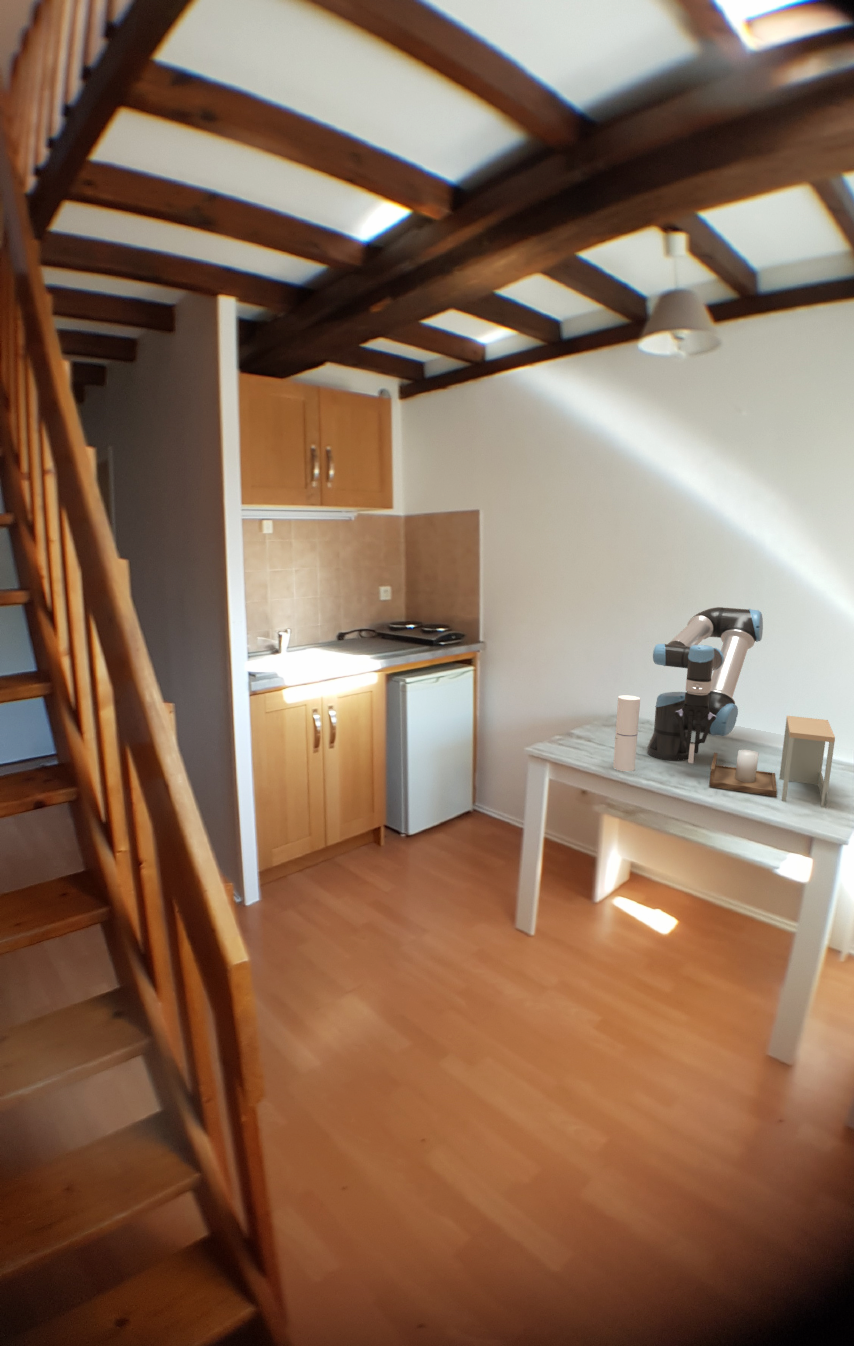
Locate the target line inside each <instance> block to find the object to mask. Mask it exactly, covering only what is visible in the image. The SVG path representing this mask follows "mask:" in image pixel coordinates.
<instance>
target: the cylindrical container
mask: <svg viewBox="0 0 854 1346" xmlns="http://www.w3.org/2000/svg"><path fill="white" fill-rule="evenodd" d="M640 707H641V698H640V696H635V695H628V694H627V695H626V694H624V695H618V697H617V710H616V721H615V722H616V725H615V735H614V736H615V738H614V752H613V762H612V763H613V766H612V767H614V768H616V769H617V770H616V771H618V770H621V771H620V772H622V771H632V772H634V771H635V770H636V759H637V746H638V745H637V743H638V730H639V721H640V720H639V718H640ZM614 768H613V769H614ZM633 770H634V771H633Z"/></svg>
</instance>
